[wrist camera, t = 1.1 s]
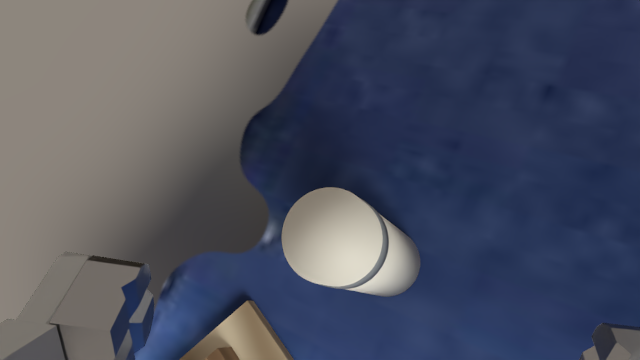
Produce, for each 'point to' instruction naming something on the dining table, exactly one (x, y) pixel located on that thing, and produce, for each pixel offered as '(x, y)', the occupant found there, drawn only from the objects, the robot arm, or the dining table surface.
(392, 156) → the dining table surface
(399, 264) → the grooved cream capsule
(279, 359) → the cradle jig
